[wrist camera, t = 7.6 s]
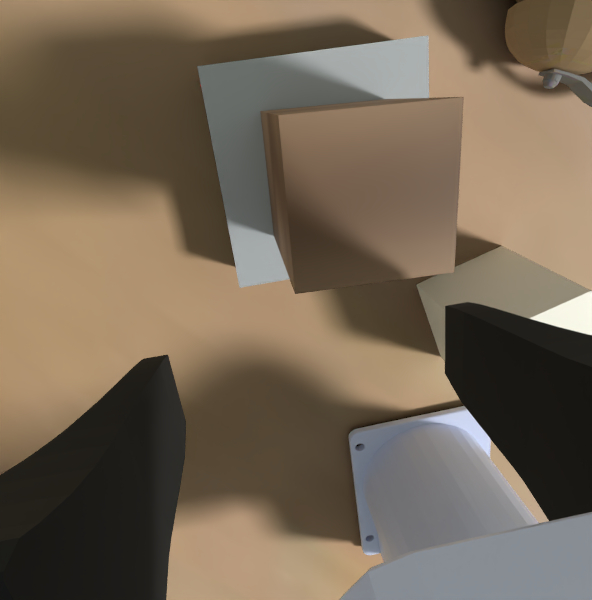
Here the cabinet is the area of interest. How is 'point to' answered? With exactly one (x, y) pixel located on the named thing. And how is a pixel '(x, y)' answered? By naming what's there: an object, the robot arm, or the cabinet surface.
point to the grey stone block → (282, 95)
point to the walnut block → (364, 189)
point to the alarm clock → (553, 41)
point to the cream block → (507, 292)
